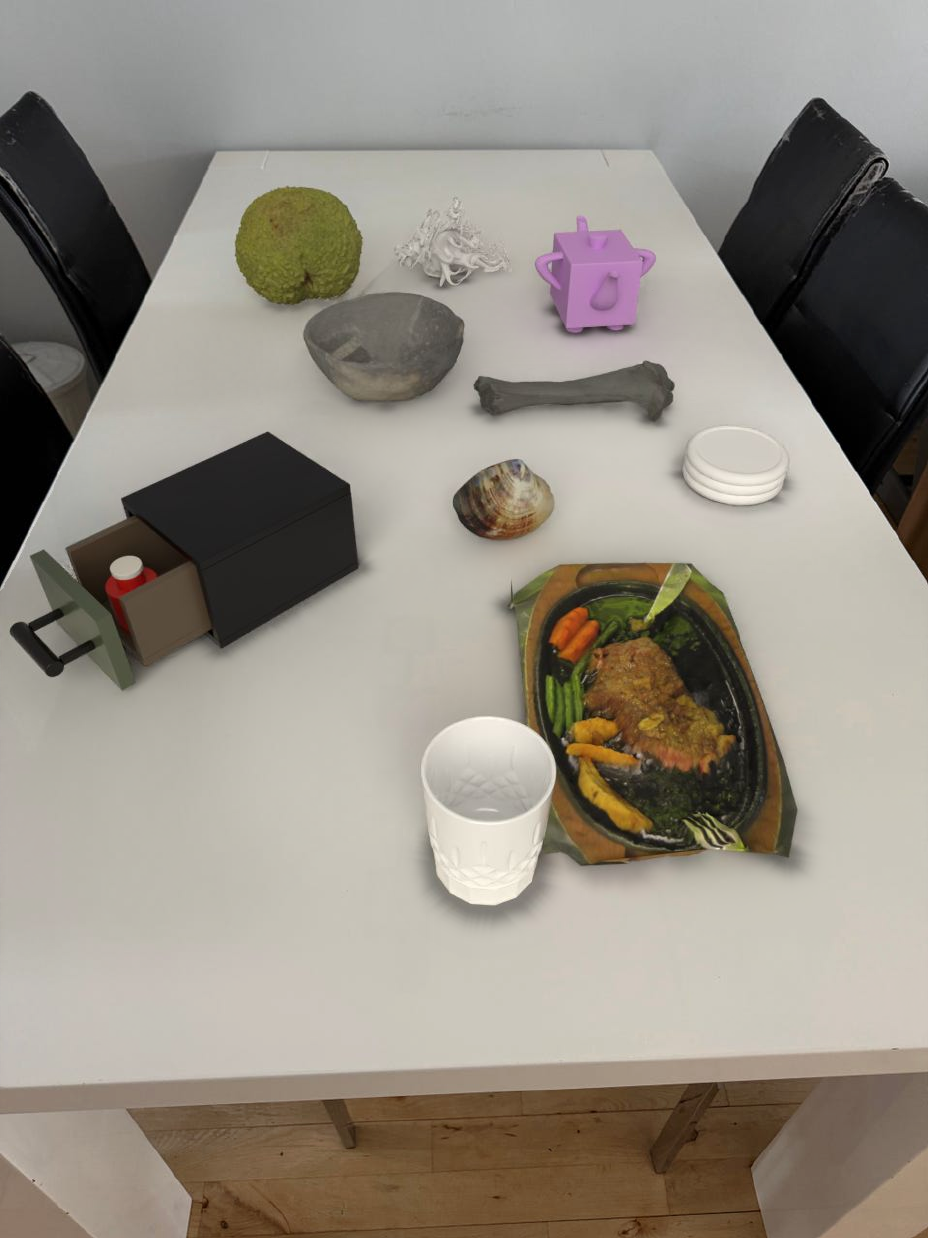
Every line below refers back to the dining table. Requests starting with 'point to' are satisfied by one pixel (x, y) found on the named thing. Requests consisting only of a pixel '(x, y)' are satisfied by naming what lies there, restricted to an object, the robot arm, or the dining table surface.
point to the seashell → (504, 501)
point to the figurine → (448, 247)
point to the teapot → (594, 277)
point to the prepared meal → (648, 716)
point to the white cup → (487, 806)
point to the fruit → (298, 245)
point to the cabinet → (254, 530)
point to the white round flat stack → (735, 464)
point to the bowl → (385, 345)
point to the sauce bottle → (126, 583)
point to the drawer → (152, 610)
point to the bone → (583, 390)
